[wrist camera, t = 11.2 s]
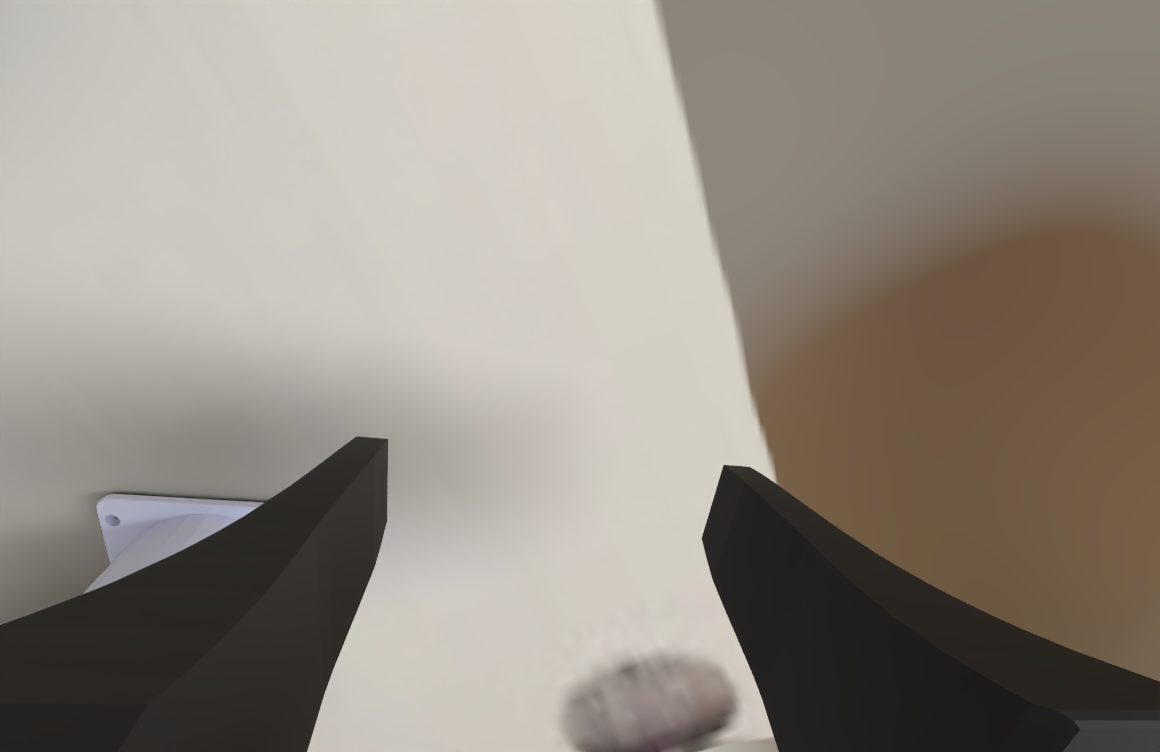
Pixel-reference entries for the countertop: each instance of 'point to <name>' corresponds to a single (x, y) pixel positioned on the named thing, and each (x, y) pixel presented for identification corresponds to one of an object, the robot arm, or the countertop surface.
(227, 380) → the countertop surface
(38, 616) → the robot arm
